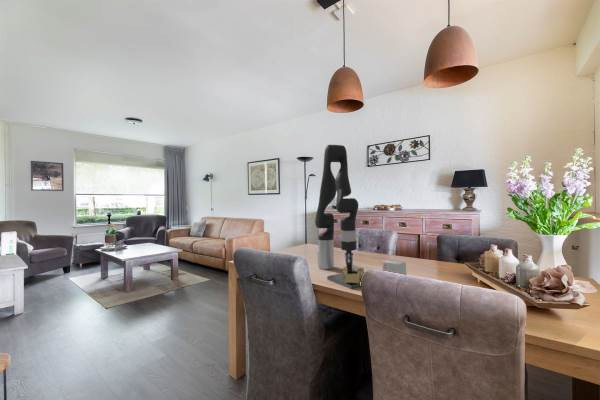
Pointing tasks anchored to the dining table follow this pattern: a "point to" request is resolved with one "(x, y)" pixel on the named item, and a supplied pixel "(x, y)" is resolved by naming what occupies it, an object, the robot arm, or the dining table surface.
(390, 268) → the small box
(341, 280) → the nut base plate
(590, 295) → the dining table surface
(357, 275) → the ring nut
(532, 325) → the dining table surface
